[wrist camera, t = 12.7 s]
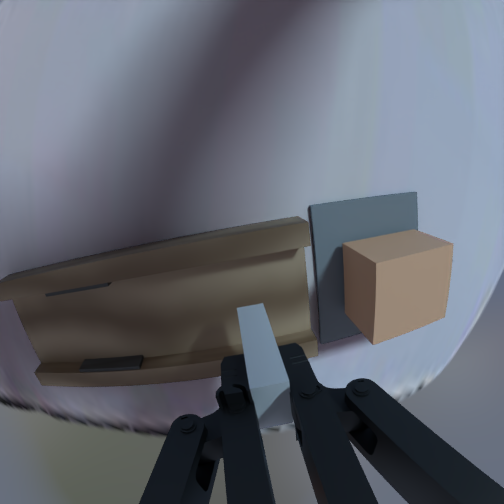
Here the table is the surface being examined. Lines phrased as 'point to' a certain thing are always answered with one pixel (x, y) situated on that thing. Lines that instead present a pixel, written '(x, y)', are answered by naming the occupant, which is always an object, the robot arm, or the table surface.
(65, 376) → the chute
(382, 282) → the block
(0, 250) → the table surface
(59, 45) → the table surface
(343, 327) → the mat
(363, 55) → the table surface
